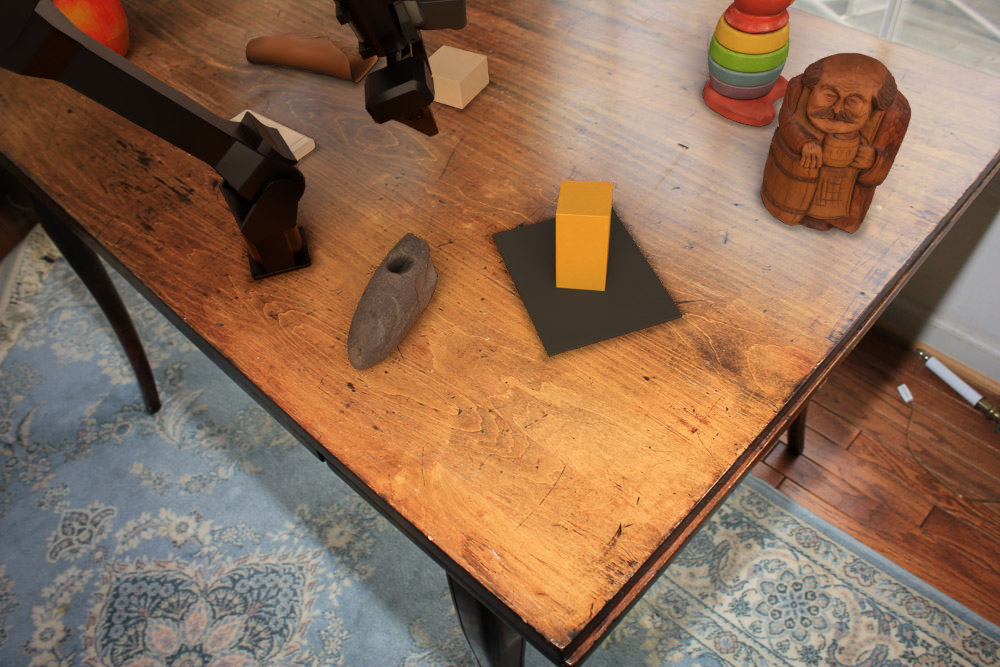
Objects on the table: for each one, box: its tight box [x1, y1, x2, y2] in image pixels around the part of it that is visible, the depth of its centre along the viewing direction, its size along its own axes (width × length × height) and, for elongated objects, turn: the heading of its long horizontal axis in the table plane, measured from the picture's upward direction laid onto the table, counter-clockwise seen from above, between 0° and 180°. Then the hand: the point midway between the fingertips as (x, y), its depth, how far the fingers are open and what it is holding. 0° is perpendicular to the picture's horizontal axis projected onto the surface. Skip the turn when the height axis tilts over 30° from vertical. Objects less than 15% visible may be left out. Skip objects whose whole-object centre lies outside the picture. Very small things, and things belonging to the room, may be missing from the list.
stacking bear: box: [702, 0, 796, 127], centre depth 89 cm, size 11×10×18 cm
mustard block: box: [555, 179, 614, 291], centre depth 74 cm, size 5×5×10 cm
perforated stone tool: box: [346, 232, 439, 371], centre depth 72 cm, size 15×5×7 cm, turn 155°
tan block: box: [428, 44, 490, 110], centre depth 100 cm, size 7×7×4 cm
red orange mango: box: [52, 0, 131, 58], centre depth 108 cm, size 9×9×12 cm
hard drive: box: [229, 109, 316, 162], centre depth 95 cm, size 2×8×12 cm
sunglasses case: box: [244, 33, 379, 84], centre depth 107 cm, size 18×7×7 cm
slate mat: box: [492, 207, 683, 358], centre depth 78 cm, size 18×14×1 cm
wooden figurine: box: [760, 52, 912, 234], centre depth 75 cm, size 12×6×18 cm, turn 67°
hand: (431, 104), depth 79 cm, fingers open, 9 cm apart
